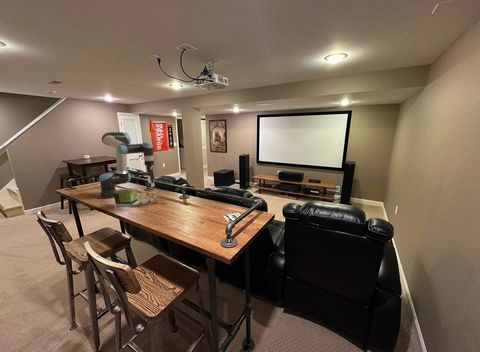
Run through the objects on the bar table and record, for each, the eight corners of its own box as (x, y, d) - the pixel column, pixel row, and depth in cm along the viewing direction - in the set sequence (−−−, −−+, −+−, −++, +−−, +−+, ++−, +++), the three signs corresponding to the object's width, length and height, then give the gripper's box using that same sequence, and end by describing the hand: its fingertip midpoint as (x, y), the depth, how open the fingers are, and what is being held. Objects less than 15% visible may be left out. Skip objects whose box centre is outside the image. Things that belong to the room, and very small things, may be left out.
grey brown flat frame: (139, 205, 169) (138, 202, 168) (157, 202, 177) (156, 199, 177) (140, 209, 162) (139, 205, 161) (159, 205, 170) (158, 202, 169)
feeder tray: (145, 201, 180) (144, 198, 180) (156, 199, 186) (156, 196, 185) (146, 204, 173) (146, 201, 172) (158, 202, 178) (158, 199, 178)
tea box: (139, 203, 174) (137, 188, 171) (131, 208, 164) (129, 191, 161) (123, 203, 175) (121, 187, 172) (115, 207, 166) (112, 191, 162)
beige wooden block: (155, 201, 174) (154, 191, 172) (156, 203, 171) (155, 192, 168) (150, 202, 172) (149, 192, 170) (151, 204, 168) (150, 193, 166)
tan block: (141, 204, 168) (139, 193, 166) (146, 203, 170) (145, 192, 168) (141, 206, 164) (140, 195, 162) (147, 205, 167) (146, 194, 164)
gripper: (142, 159, 171) (144, 182, 176) (146, 162, 151) (149, 188, 156) (151, 158, 175) (153, 181, 180) (156, 162, 155) (159, 187, 160)
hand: (151, 184), depth 168 cm, fingers open, 13 cm apart
